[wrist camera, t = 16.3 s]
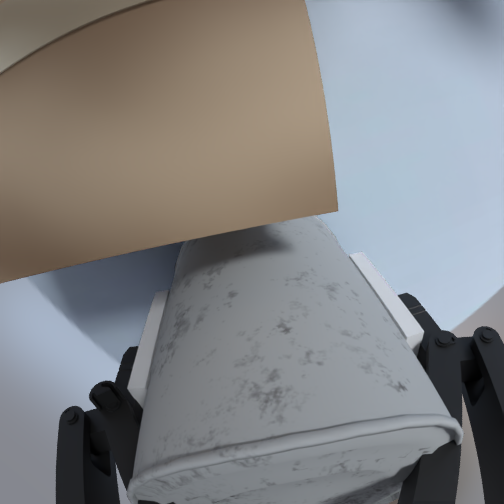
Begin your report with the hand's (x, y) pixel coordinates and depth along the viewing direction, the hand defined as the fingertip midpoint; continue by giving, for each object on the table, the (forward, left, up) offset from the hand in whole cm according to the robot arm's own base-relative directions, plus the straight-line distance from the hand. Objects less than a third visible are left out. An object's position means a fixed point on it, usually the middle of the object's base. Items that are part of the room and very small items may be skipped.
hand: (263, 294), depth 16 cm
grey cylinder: (0, 0, -1) cm, 1 cm away
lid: (-14, -4, +6) cm, 15 cm away
